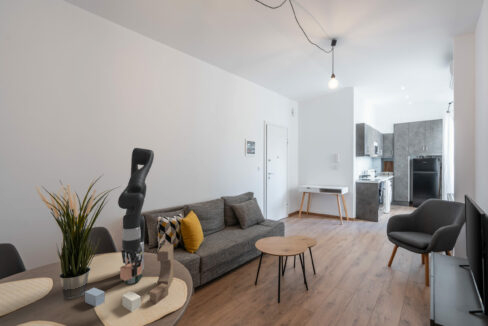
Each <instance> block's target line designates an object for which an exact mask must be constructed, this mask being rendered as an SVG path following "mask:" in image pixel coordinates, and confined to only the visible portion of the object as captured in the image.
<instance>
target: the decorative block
mask: <svg viewBox="0 0 488 326" xmlns="http://www.w3.org/2000/svg"><path fill="white" fill-rule="evenodd" d="M156 253H157V255H156V256H157V257H156V261H157V262H159V263H160V270H159V275H158V276H159V277H158V279H157V282H156V283H157V284H156V287H157V286H159V285H160V284H162V283H163V284H166V285H168V290H169V288H170V287H171V284H172V283H173V280H174V244H173V243H169V244H168V243H163V245H162V246H161V247H160V248H159V250H157V252H156Z"/></svg>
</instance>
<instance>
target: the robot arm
mask: <svg viewBox="0 0 488 326" xmlns="http://www.w3.org/2000/svg"><path fill="white" fill-rule="evenodd" d="M154 157H155V153H154V151H153V150H152V149H147V148H140V147H134V148H133V149H132V152H131V160H130V161H131V162H130V163H131V164H130V166H131V167H130V177H129V179H128V180H129V181H128V182H127V185H126V187H125V188H124V190H123V191H122V192H121V193H120V194H119V197H118V199H117V205H118V206H119V208H120V209H123V210H126V211H125V214H124V215H123V217H122V233H121V235H122V236H121V242H122V243H121V247H122V249H121V251H120V253H121V258H122V263H123V264H124V265H127V264H131V267H132V277H134V276H137V268H138V267H140V266H141V261H142V272H143V271H144V268H145V228H146V225H145V224H146V220H145V216H144V215H143V214H141V213H142V209H143V206H144V204H145V198H146V194H147V184H146V179H147V176H148V174H149V173H150V171H151V167H152V165H153V162H154V159H155V158H154ZM139 166H141V168H139ZM140 246H141V247H142V255H139V254H138V253H139V252H138V248H139V247H140ZM132 260H134V261H132Z"/></svg>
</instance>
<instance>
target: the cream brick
mask: <svg viewBox="0 0 488 326" xmlns="http://www.w3.org/2000/svg"><path fill="white" fill-rule="evenodd" d="M121 296H122V299H121V300H122V303H121V304H122V305H123V306H122V305H121V306H122V307H124V308H125V309H126V310H128V311H130V312H131V313H133V312H135V311H137V310H138V309H140V308H141V305H142V303H141V300H142V299H141V296H140V295H139V294H137V293H135V292H134V291H132V290H130V291H128V292H126V293H124V294H122V295H121Z"/></svg>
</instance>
